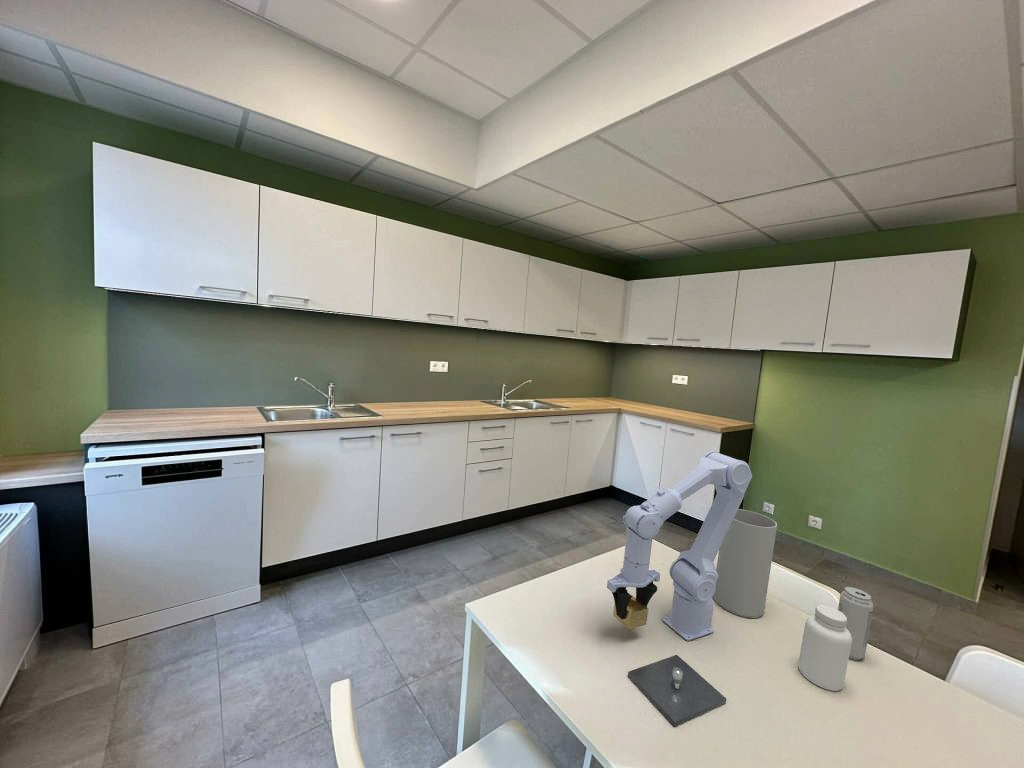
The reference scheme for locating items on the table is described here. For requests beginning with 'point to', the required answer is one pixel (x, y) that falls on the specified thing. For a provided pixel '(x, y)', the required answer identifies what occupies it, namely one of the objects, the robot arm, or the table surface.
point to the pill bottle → (825, 648)
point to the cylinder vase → (745, 564)
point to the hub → (633, 614)
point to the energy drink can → (857, 618)
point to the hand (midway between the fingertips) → (630, 613)
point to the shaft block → (676, 689)
